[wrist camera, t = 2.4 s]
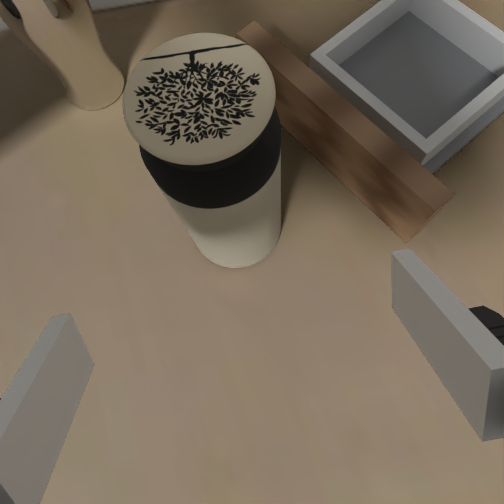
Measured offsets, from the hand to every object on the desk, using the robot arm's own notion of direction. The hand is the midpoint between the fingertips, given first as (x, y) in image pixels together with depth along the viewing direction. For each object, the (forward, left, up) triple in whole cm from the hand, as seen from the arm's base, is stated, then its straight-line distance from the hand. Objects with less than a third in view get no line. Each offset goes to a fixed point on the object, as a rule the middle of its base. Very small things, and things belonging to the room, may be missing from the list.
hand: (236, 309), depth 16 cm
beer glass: (-31, +4, -18) cm, 36 cm away
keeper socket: (-9, +27, -17) cm, 34 cm away
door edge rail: (-9, +16, -17) cm, 26 cm away
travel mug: (-9, +5, -18) cm, 21 cm away
